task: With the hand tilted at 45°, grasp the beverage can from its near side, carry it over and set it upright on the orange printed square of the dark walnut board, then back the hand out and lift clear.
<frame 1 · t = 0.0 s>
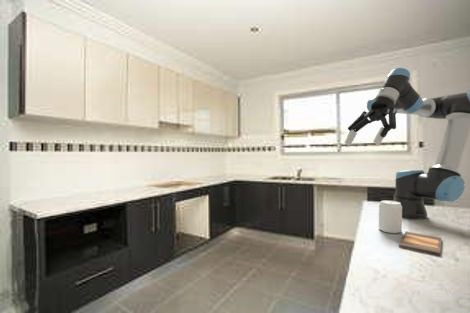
hand: (360, 144, 97), 36 cm above the counter, tool tilted 35°, fingers open, 13 cm apart
beverage can: (389, 231, 104), on the counter
label board: (420, 243, 90), on the counter
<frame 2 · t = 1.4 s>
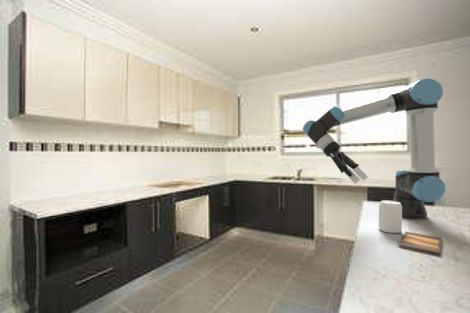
hand: (362, 180, 110), 20 cm above the counter, tool tilted 45°, fingers open, 13 cm apart
nothing on the counter moved.
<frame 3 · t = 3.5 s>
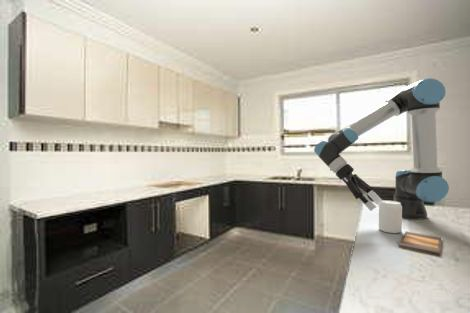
hand: (377, 206, 106), 10 cm above the counter, tool tilted 45°, fingers open, 13 cm apart
nothing on the counter moved.
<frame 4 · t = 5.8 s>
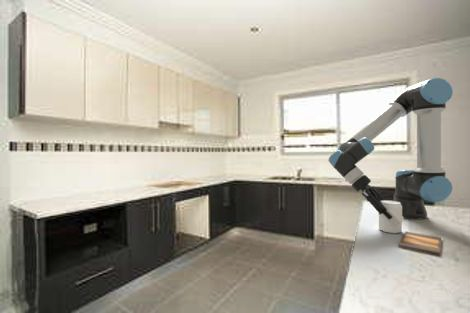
hand: (399, 222, 101), 4 cm above the counter, tool tilted 45°, fingers closed on beverage can, 8 cm apart
beverage can: (389, 231, 104), on the counter, touching gripper
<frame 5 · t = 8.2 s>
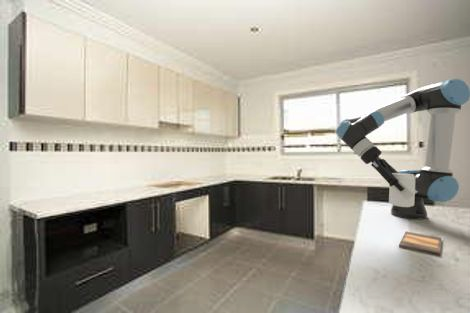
hand: (412, 195, 93), 17 cm above the counter, tool tilted 45°, fingers closed on beverage can, 8 cm apart
beverage can: (401, 205, 96), point 12 cm above the counter, touching gripper
when the fingers open (7 cm above the counter, at t = 10.9 s): beverage can drops 1 cm, resting on label board.
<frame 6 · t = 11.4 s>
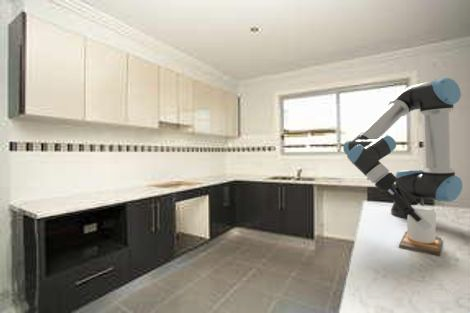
hand: (429, 223, 88), 8 cm above the counter, tool tilted 45°, fingers open, 13 cm apart
beverage can: (420, 240, 90), point 1 cm above the counter, touching label board
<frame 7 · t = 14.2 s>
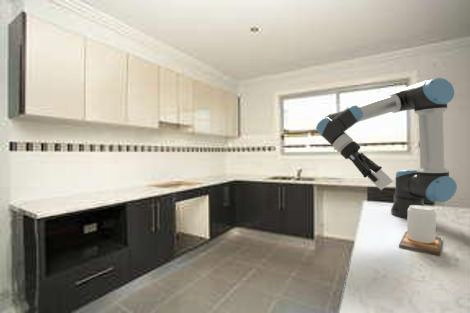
hand: (387, 185, 96), 20 cm above the counter, tool tilted 45°, fingers open, 13 cm apart
nothing on the counter moved.
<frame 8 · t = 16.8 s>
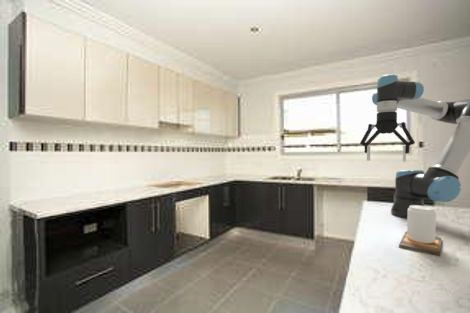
hand: (385, 160, 109), 29 cm above the counter, tool pointing down, fingers open, 13 cm apart
nothing on the counter moved.
at the end: beverage can inside the target area (0.1 cm from its centre), point 0.9 cm above the counter; beverage can tilted 0°; the gripper is holding nothing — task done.
